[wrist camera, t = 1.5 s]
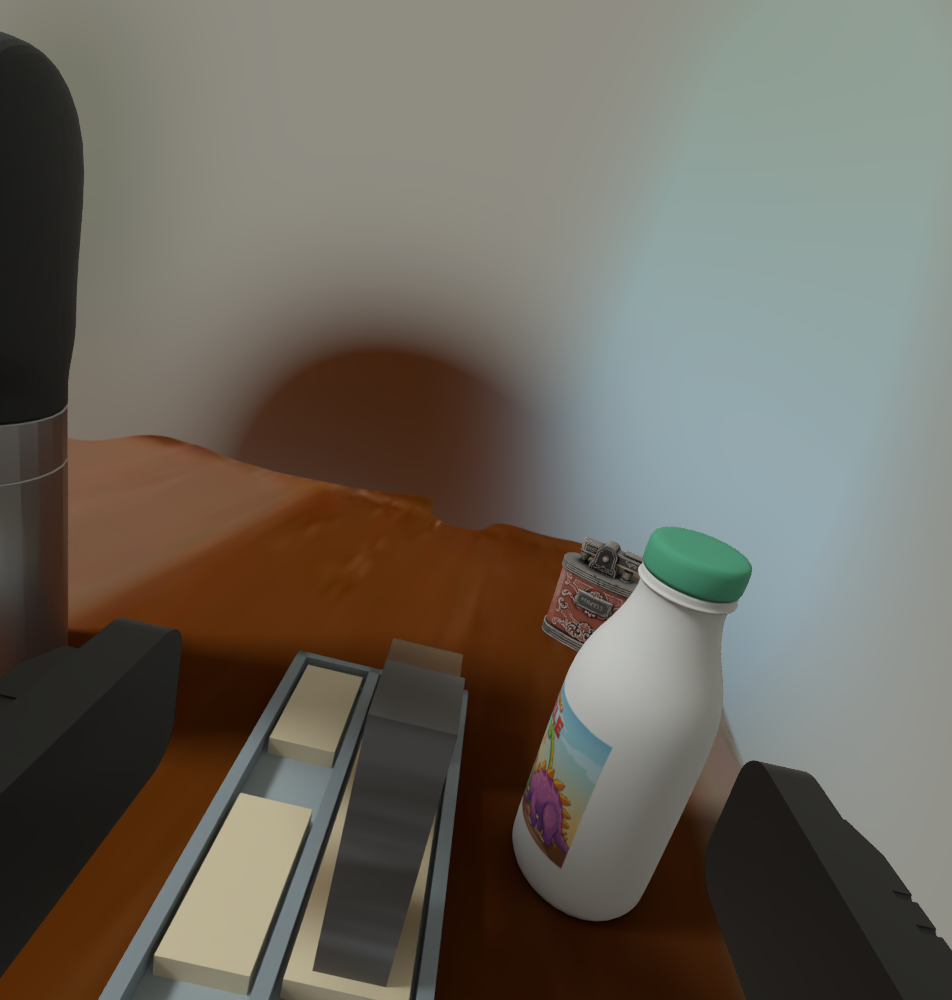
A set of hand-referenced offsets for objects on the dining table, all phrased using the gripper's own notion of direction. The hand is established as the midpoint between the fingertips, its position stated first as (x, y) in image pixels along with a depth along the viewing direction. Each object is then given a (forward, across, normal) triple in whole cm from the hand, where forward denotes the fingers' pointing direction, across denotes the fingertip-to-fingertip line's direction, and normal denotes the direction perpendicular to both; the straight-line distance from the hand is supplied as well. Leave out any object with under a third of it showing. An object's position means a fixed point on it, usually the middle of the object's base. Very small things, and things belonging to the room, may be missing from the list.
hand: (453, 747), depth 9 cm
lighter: (+43, -14, +20) cm, 50 cm away
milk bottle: (+20, -11, +22) cm, 32 cm away
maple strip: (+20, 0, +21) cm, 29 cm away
